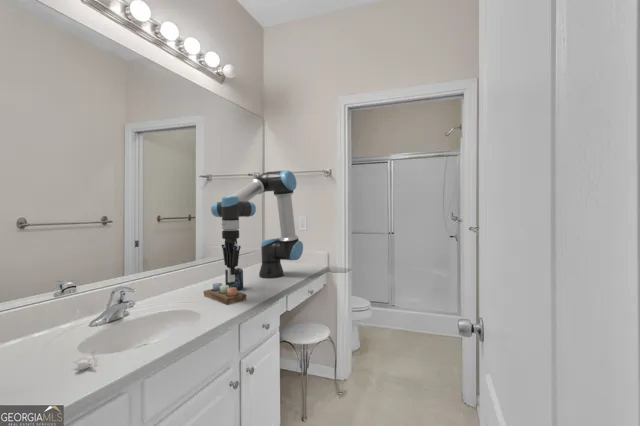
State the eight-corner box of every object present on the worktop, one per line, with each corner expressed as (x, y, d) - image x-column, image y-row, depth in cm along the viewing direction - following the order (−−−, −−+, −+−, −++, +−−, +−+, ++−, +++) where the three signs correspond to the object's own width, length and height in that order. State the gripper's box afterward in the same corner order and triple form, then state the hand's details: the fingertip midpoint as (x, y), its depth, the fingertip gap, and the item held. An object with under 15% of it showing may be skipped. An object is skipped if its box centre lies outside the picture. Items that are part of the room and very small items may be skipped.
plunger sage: (226, 292, 152) (226, 284, 152) (230, 294, 149) (230, 285, 149) (218, 294, 149) (218, 286, 149) (222, 296, 146) (222, 287, 146)
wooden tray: (222, 291, 160) (222, 286, 160) (246, 299, 144) (246, 294, 144) (204, 295, 153) (203, 290, 153) (226, 304, 137) (226, 298, 137)
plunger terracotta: (233, 295, 147) (233, 286, 147) (238, 297, 144) (238, 288, 144) (225, 297, 144) (225, 288, 144) (230, 299, 141) (230, 290, 141)
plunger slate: (219, 290, 157) (219, 282, 157) (223, 291, 154) (223, 283, 154) (211, 292, 154) (211, 284, 154) (215, 293, 151) (215, 285, 151)
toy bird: (64, 369, 81) (70, 349, 83) (80, 367, 85) (86, 348, 87) (89, 372, 79) (95, 352, 81) (105, 370, 84) (110, 351, 85)
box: (228, 291, 160) (228, 271, 160) (225, 289, 164) (224, 269, 164) (243, 289, 164) (243, 269, 164) (240, 287, 169) (239, 267, 169)
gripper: (216, 229, 145) (216, 281, 145) (230, 230, 136) (231, 285, 136) (230, 229, 151) (231, 278, 151) (245, 229, 142) (246, 282, 141)
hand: (231, 281), depth 143 cm, fingers closed
